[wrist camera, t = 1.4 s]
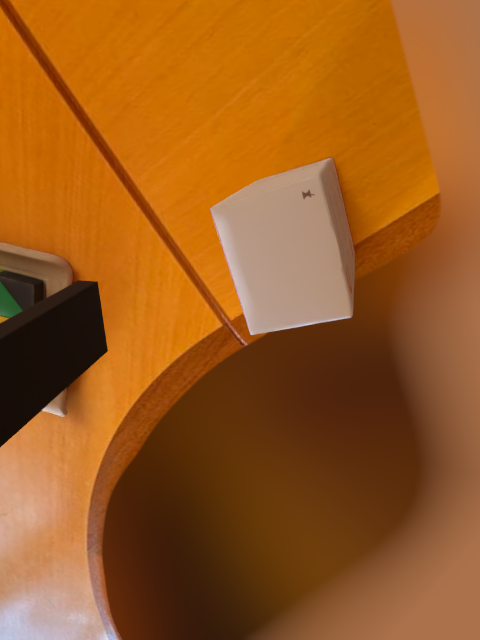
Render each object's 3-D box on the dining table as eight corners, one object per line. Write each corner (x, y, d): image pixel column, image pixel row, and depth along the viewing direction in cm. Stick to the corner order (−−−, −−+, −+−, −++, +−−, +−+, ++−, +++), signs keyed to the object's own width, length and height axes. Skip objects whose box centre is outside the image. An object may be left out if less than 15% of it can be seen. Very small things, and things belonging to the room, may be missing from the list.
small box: (254, 180, 36) (206, 205, 24) (333, 155, 34) (321, 170, 22) (281, 274, 38) (249, 338, 27) (356, 257, 36) (356, 317, 25)
